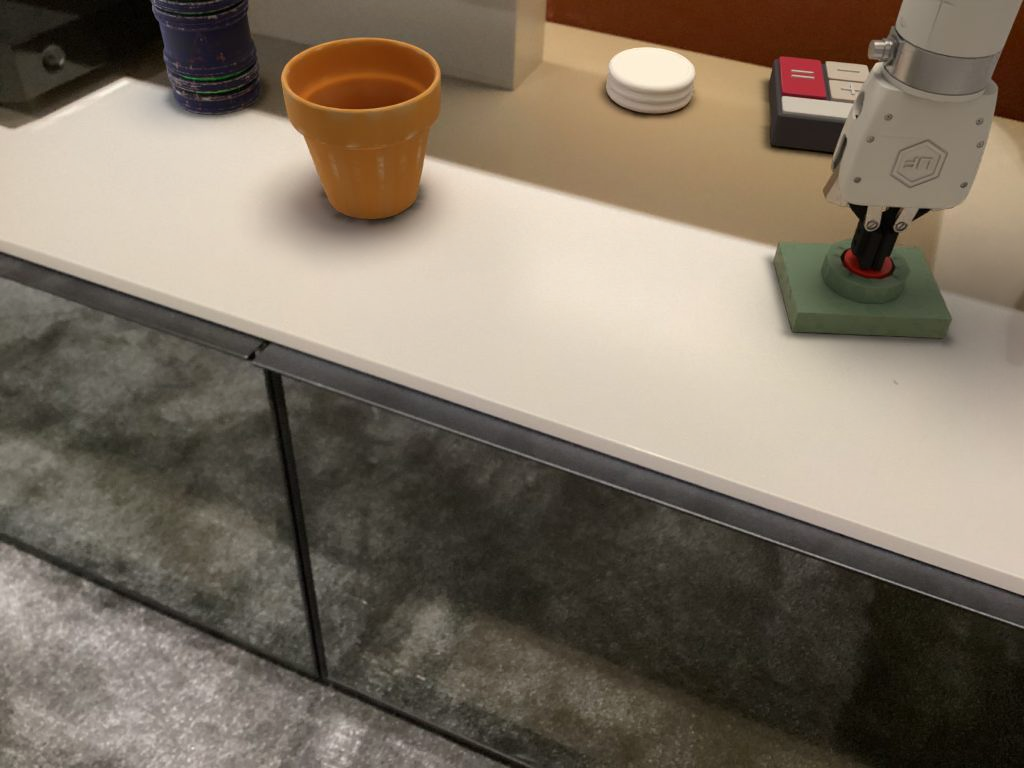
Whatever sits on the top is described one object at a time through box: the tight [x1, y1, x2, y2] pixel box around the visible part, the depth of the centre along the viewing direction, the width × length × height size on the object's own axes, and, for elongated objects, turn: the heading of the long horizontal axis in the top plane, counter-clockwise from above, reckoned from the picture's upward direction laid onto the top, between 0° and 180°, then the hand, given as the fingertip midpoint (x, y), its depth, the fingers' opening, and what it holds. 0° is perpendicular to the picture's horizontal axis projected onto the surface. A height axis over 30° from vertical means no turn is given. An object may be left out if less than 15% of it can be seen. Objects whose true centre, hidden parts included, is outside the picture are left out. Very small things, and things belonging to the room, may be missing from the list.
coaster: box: [605, 46, 697, 115], centre depth 110 cm, size 10×10×4 cm
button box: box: [773, 238, 953, 339], centre depth 85 cm, size 13×10×4 cm
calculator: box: [768, 55, 871, 153], centre depth 107 cm, size 11×4×15 cm
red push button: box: [842, 249, 892, 279], centre depth 84 cm, size 4×4×2 cm
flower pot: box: [280, 37, 442, 220], centre depth 91 cm, size 14×14×13 cm
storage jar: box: [150, 0, 263, 115], centre depth 104 cm, size 10×10×15 cm
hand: (866, 260), depth 83 cm, fingers closed
